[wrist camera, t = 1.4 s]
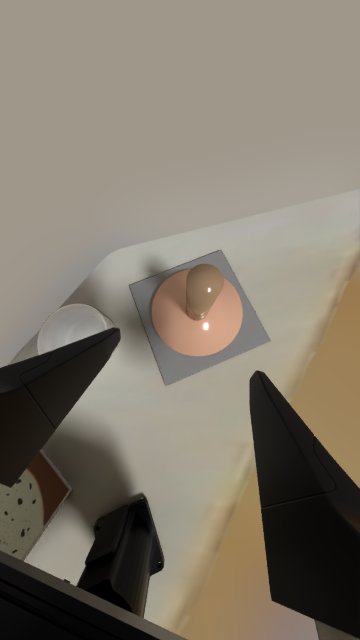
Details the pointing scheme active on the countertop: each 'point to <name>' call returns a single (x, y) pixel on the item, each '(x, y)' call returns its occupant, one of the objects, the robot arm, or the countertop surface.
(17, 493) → the food container
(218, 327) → the lid
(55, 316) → the ramekin
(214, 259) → the mat
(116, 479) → the countertop surface
